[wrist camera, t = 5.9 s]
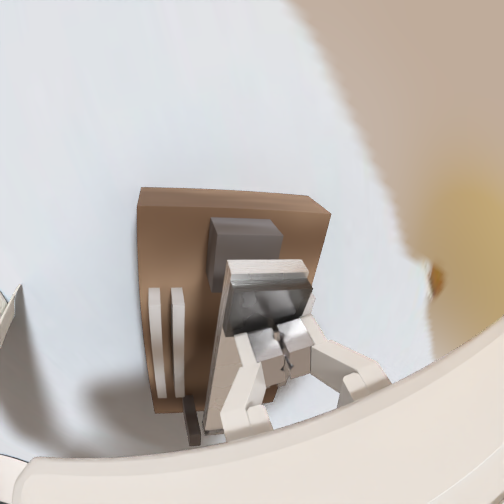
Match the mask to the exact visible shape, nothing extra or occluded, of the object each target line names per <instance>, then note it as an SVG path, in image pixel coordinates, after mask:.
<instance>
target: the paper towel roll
mask: <svg viewBox="0 0 504 504" xmlns="http://www.w3.org/2000/svg"><path fill="white" fill-rule="evenodd" d="M20 285H21V284H19V286H18V287H17V288H16V290H15V291H14V293H13V295H12V297H11V299H10V301H9V303H8V305H7V302H6V300H5V299H4V297H3V296H2V294H1V293H0V349H1V346H2V343H3V341H4V339H5V336H6V334H7V331H8V329H9V327H10V324H11V322H12V320H13V317H14V315H15V310H14V298H15V294H16V292H17V290H18V288H19V287H20Z"/></svg>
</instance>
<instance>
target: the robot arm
mask: <svg viewBox="0 0 504 504" xmlns="http://www.w3.org/2000/svg"><path fill="white" fill-rule="evenodd" d="M275 330H276V333H277V335H278V336H277V337H276V339H277V341H276V340H275V338H274V332H273V330H272V327H271V326H268V327H264V328H260V329H256V330H252V331H248V332H244V333H240V334H236V335H234V338H235V342H236V346H237V350H238V353H239V357H240V361H241V364H242V367H240V368H239V370H238V372H237V374H236V377H235V379H234V382H233V384H232V386H231V389H230V391H229V394H228V396H227V398H226V401H225V403H224V405H223V408H222V410H221V412H220V416H221V420H222V425H223V429H224V433H225V438H226V442H225V443H220V444H215V445H210V446H205V447H200V448H194V449H188V450H182V451H175V452H168V453H160V454H152V455H142V456H130V457H114V458H55V457H34V458H33V459H32V460H31V461H30V462H29V463H26V462H23V461H20V460H17V459H14V458H11V457H7V456H3V455H0V504H504V315H503V316H502V317H501V318H499V319H498V320H497V321H495V322H494V323H492V324H491V325H490V326H488V327H487V328H486V329H484V330H483V331H481V332H480V333H478V334H477V335H475V336H474V337H473V338H471V339H470V340H468V341H467V342H465V343H463V344H462V345H460V346H459V347H457V348H456V349H454V350H453V351H451V352H449V353H448V354H446V355H444V356H443V357H441V358H439V359H438V360H436V361H434V362H432V363H431V364H429V365H427V366H425V367H424V368H422V369H420V370H418V371H416V372H414V373H413V374H411V375H409V376H407V377H405V378H403V379H401V380H399V381H397V382H395V383H393V384H392V383H391V382H390V380H389V379H388V377H387V375H386V374H385V372H384V371H383V369H382V368H381V366H380V365H379V363H378V362H377V361H375V360H373V359H370V358H368V357H366V356H364V355H362V354H360V353H358V352H356V351H353V350H351V349H349V348H347V347H345V346H343V345H341V344H339V343H337V342H335V341H333V340H327V339H326V337H325V335H324V334H323V332H322V330H321V329H320V327H319V325H318V324H317V322H316V320H315V319H314V317H313V315H312V314H307V315H303V316H300V317H297V318H293V319H290V320H287V321H284V322H280V323H277V324H275ZM284 360H285V365H286V369H287V371H288V373H289V376H290V378H291V379H293V378H296V377H299V376H303V375H306V374H309V373H311V375H313V376H314V377H316V378H317V379H319V380H320V381H322V382H323V383H325V384H326V385H328V386H329V387H331V388H332V389H334V390H335V391H337V392H339V393H340V396H339V400H338V405H337V408H336V409H334V410H331V411H329V412H326V413H323V414H321V415H318V416H315V417H312V418H309V419H306V420H304V421H301V422H298V423H295V424H291V425H288V426H285V427H282V428H279V429H275V430H273V427H272V425H271V422H270V419H269V416H268V413H267V411H266V408H265V406H263V405H262V401H263V398H264V394H265V391H266V387H268V386H271V385H274V384H277V383H280V382H283V381H285V371H284V369H283V366H284Z"/></svg>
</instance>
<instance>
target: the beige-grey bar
mask: <svg viewBox="0 0 504 504" xmlns="http://www.w3.org/2000/svg"><path fill="white" fill-rule="evenodd" d="M308 274H309V271H308V269H307V268H306V266H305V264H304V263H303V261H302V259H282V260H227V264H226V270H225V276H224V282H223V288H222V295H221V301H220V307H219V314H218V320H217V326H216V333H215V340H214V346H213V353H212V360H211V367H210V374H209V381H208V388H207V395H206V402H205V410H204V417H203V421H202V427H203V432H204V435H205V436H207V435H216V434H225V433H224V429H223V425H222V420H221V416H220V412H221V410H222V408H223V405H224V403H225V401H226V398H227V396H228V394H229V391H230V389H231V386H232V384H233V382H234V379H235V377H236V374H237V372H238V370H239V368H240V367H242V364H241V361H240V357H239V353H238V350H237V346H236V342H235V338H234V335H236V334H240V333H244V332H248V331H252V330H256V329H260V328H264V327H268V326H271V327H272V330H273V332H274V338H275V340H276V341H277V339H276V337H277V336H278V335H277V333H276V330H275V324H277V323H280V322H284V321H287V320H290V319H293V318H297V317H300V316H302V314H303V312H304V310H305V307H306V305H307V302H308V300H309V297H310V295H311V292H312V290H313V288H312V286H311V284H310V282H309V281H308V279H307V277H308Z"/></svg>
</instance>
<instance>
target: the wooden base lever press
mask: <svg viewBox="0 0 504 504" xmlns="http://www.w3.org/2000/svg"><path fill="white" fill-rule="evenodd" d="M330 217H331V213H330V212H328V211H327V210H326V209H324V208H323V207H322V206H321V205H319V204H318V203H317V202H315V201H314V200H313V199H311V198H310V197H309V196H303V195H292V194H280V193H266V192H252V191H235V190H216V189H192V188H153V187H141V191H140V195H139V200H138V204H137V248H138V273H139V290H140V304H141V316H142V326H143V336H144V345H145V353H146V361H147V368H148V375H149V382H150V388H151V394H152V400H153V406H154V411H155V414H156V413H179V412H183V413H184V419H185V424H186V430H187V435H188V440H189V445H190V446H200V444H201V432H200V428H199V423H198V418H197V413H196V411H204V410H205V402H206V395H207V388H208V381H209V374H210V367H211V360H212V353H213V346H214V340H215V333H216V326H217V320H218V314H219V307H220V301H221V295H222V288H223V282H224V276H225V270H226V264H227V260H282V259H302V261H303V263H304V264H305V266H306V268H307V269H308V271H309V274H308V277H307V279H308V281H309V282H310V284H311V286H312V282H313V279H314V275H315V272H316V268H317V265H318V261H319V258H320V254H321V251H322V247H323V243H324V240H325V236H326V232H327V228H328V225H329V221H330ZM315 299H316V298H315V297H314V295H313V294H312V293H311V295H310V297H309V300H308V302H307V305H306V307H305V310H304V312H303V314H302V316H303V315H307V314H311V311H312V308H313V305H314V302H315ZM283 369H284V371H285V381H283V382H280V383H277V384H274V385H271V386H268V387H266V391H265V394H264V398H263V401H262V403H268V402H273V400H274V397H275V394H276V392H277V389H278V387H279V386H285V384H286V382H287V379H288V376H289V373H288V371H287V369H286V365H285V360H284V366H283Z"/></svg>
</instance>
